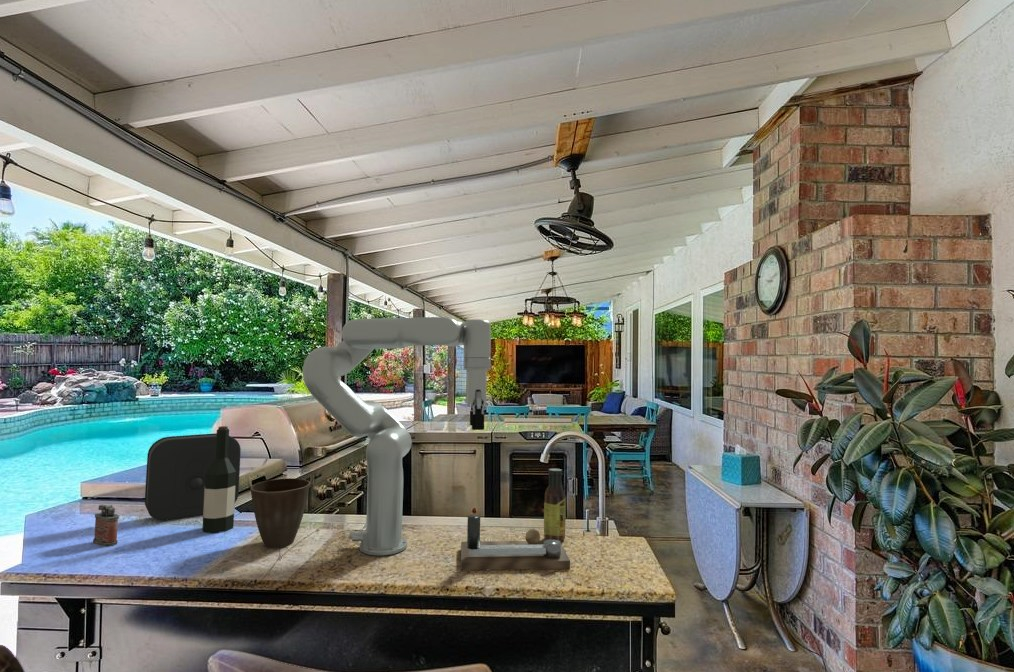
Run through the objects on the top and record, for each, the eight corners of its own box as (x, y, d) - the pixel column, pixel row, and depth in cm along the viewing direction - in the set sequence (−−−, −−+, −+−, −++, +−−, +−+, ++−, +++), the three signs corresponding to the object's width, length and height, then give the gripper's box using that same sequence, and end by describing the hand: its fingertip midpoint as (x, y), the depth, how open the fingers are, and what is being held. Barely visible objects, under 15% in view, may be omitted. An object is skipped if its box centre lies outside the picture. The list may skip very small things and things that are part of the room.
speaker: (232, 504, 172) (236, 431, 173) (238, 510, 165) (242, 434, 167) (143, 518, 155) (148, 437, 157) (146, 525, 149) (151, 441, 150)
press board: (460, 570, 121) (461, 545, 121) (461, 549, 135) (461, 526, 135) (570, 568, 123) (570, 544, 124) (559, 547, 137) (559, 525, 137)
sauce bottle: (564, 543, 140) (565, 472, 141) (542, 541, 142) (543, 471, 143) (566, 536, 147) (567, 468, 148) (545, 534, 148) (546, 466, 149)
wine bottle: (239, 527, 149) (244, 426, 150) (210, 535, 142) (216, 429, 143) (224, 522, 153) (229, 424, 155) (195, 529, 146) (201, 427, 148)
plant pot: (284, 556, 127) (287, 493, 128) (234, 550, 131) (237, 489, 132) (318, 537, 142) (320, 480, 143) (273, 532, 145) (275, 476, 146)
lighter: (120, 543, 134) (123, 506, 135) (106, 547, 131) (108, 509, 132) (104, 538, 138) (106, 502, 138) (89, 542, 135) (91, 505, 135)
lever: (558, 551, 128) (559, 513, 129) (562, 557, 124) (562, 518, 125) (466, 552, 126) (467, 514, 127) (466, 559, 122) (467, 519, 122)
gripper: (462, 364, 145) (461, 423, 144) (464, 364, 127) (464, 431, 127) (487, 364, 146) (487, 423, 145) (493, 364, 128) (493, 431, 127)
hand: (476, 427), depth 136 cm, fingers open, 9 cm apart
